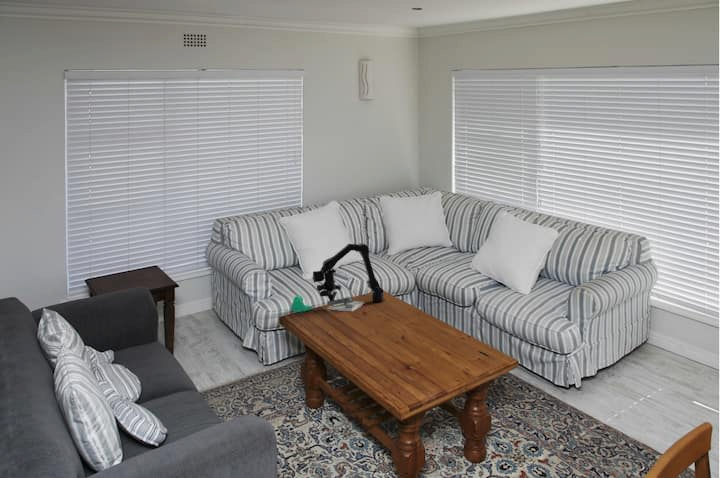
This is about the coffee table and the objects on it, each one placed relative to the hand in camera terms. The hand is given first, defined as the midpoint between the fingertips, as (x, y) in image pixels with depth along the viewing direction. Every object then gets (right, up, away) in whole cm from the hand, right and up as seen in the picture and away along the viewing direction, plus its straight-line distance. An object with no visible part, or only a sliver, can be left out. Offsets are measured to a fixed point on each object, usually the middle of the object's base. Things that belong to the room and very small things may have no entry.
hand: (331, 303), depth 388 cm
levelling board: (+9, -2, 0) cm, 9 cm away
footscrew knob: (+5, -1, -1) cm, 6 cm away
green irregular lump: (-19, -5, +2) cm, 20 cm away
